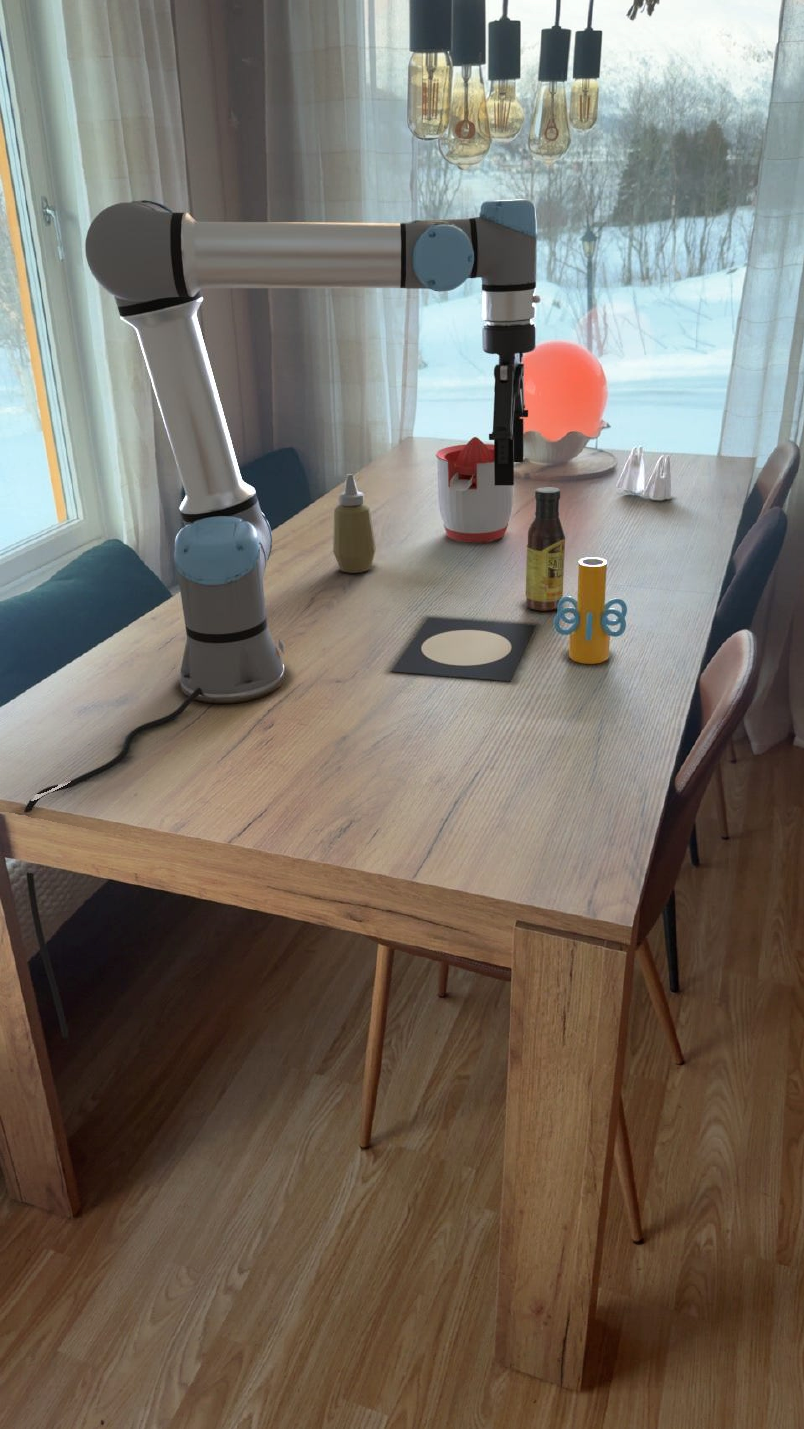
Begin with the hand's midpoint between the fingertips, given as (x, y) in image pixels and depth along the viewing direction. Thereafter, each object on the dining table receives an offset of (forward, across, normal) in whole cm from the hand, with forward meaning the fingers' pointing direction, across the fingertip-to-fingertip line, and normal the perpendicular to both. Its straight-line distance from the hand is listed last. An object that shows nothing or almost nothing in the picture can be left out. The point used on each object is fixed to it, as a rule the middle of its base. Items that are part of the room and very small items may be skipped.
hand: (509, 473), depth 157 cm
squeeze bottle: (+26, +29, +32) cm, 50 cm away
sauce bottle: (+26, +13, -4) cm, 29 cm away
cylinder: (+26, -8, -13) cm, 30 cm away
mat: (+26, -6, +6) cm, 27 cm away
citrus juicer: (+26, +50, +13) cm, 58 cm away
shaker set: (+26, +83, -21) cm, 89 cm away
